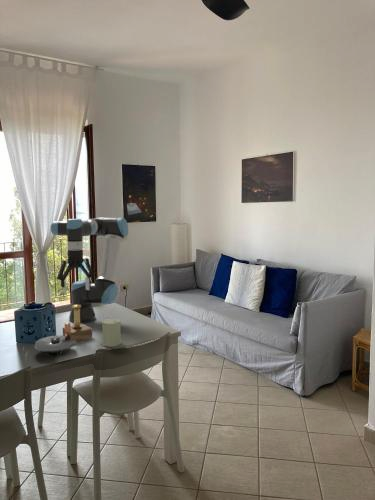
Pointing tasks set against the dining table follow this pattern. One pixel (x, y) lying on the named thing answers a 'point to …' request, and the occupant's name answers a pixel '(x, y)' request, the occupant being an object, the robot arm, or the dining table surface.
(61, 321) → the dining table surface
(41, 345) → the handwheel
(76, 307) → the hook pin
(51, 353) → the wheel base
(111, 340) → the can
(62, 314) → the dining table surface
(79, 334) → the brown square block
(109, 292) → the robot arm
